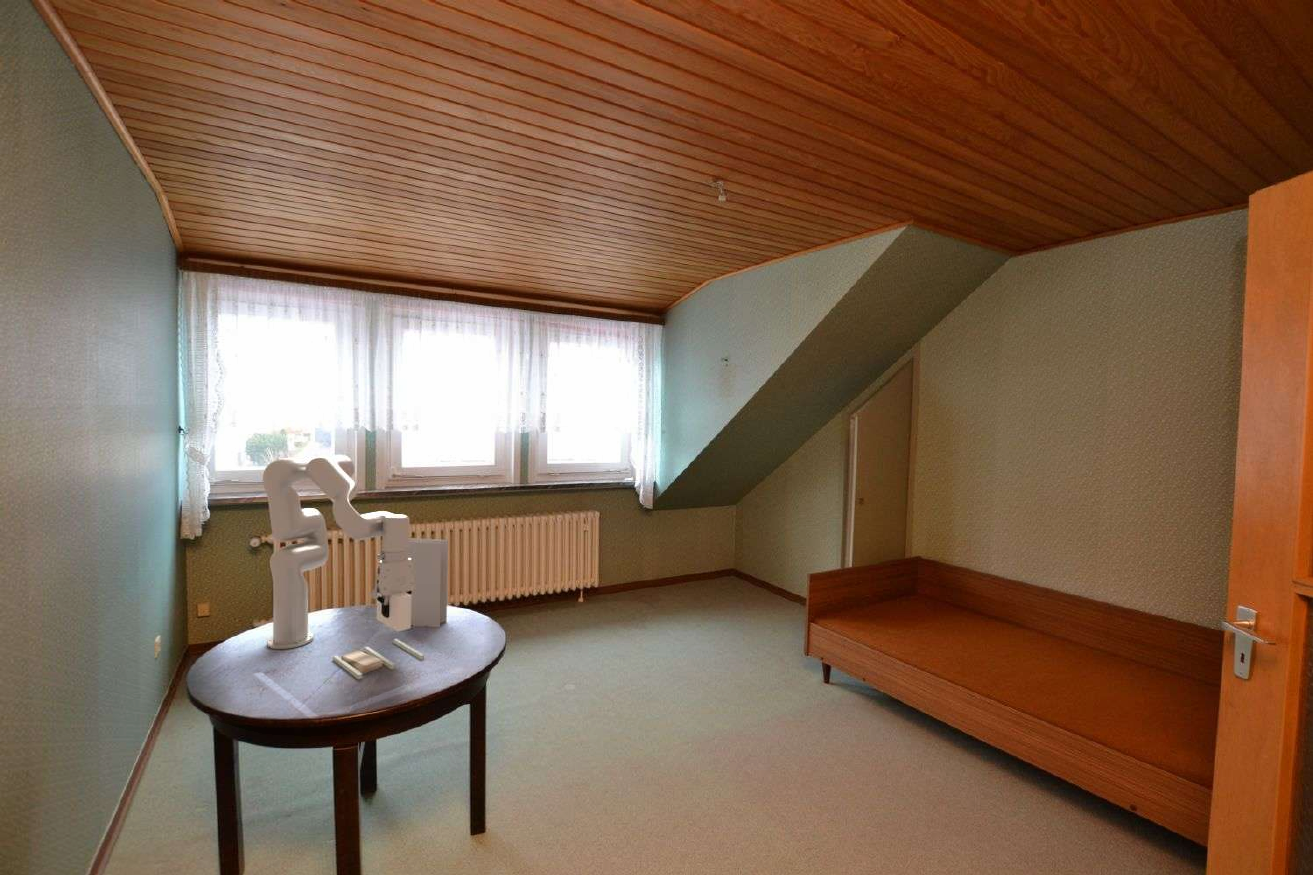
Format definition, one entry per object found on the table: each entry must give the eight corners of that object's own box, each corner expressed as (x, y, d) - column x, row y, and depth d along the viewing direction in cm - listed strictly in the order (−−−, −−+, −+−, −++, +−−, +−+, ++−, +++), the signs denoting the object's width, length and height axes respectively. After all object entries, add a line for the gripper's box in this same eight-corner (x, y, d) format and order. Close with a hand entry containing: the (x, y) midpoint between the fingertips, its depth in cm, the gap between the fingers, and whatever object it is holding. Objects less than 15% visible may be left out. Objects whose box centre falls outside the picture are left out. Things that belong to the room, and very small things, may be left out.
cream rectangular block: (376, 618, 177) (377, 587, 176) (389, 615, 180) (390, 584, 179) (397, 631, 168) (398, 598, 167) (410, 628, 171) (411, 595, 170)
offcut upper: (341, 662, 168) (341, 655, 167) (357, 656, 172) (358, 650, 172) (365, 672, 161) (366, 665, 161) (382, 666, 166) (382, 659, 166)
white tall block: (446, 622, 206) (448, 540, 205) (439, 627, 201) (441, 543, 200) (409, 619, 208) (410, 538, 207) (401, 624, 202) (402, 541, 201)
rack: (332, 664, 169) (333, 656, 169) (396, 646, 184) (396, 638, 183) (358, 683, 157) (358, 675, 157) (424, 662, 172) (424, 654, 172)
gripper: (372, 562, 164) (370, 624, 165) (427, 553, 177) (425, 611, 177) (361, 557, 169) (359, 618, 170) (415, 549, 182) (414, 605, 182)
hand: (393, 614), depth 174 cm, fingers closed on cream rectangular block, 4 cm apart
